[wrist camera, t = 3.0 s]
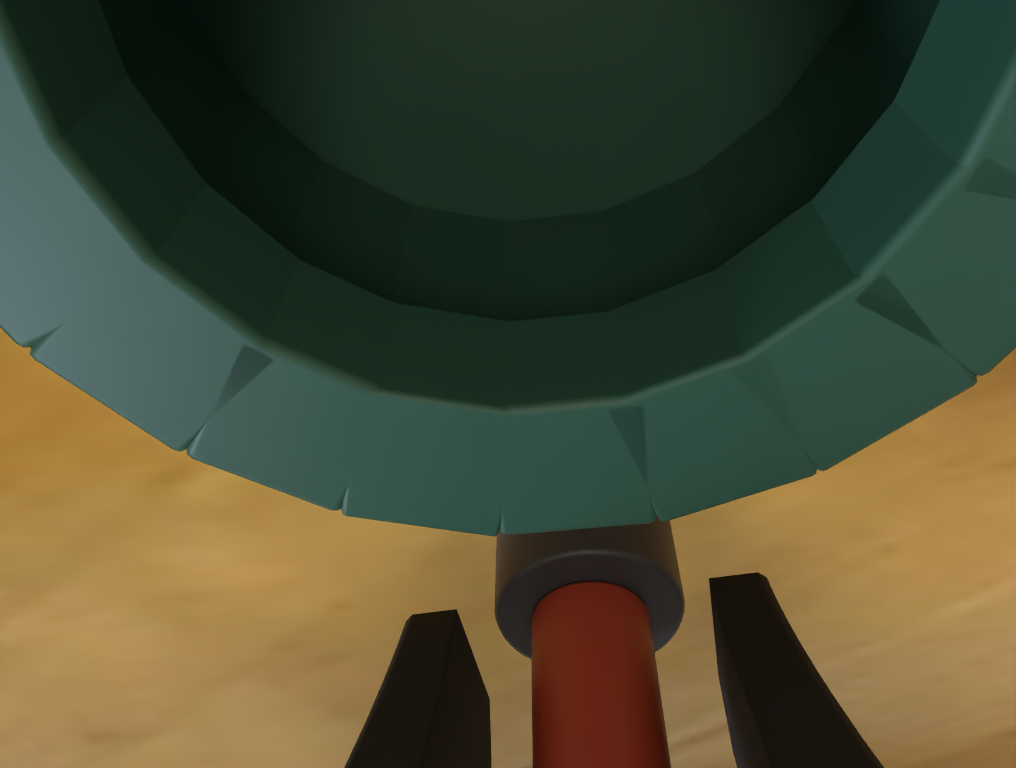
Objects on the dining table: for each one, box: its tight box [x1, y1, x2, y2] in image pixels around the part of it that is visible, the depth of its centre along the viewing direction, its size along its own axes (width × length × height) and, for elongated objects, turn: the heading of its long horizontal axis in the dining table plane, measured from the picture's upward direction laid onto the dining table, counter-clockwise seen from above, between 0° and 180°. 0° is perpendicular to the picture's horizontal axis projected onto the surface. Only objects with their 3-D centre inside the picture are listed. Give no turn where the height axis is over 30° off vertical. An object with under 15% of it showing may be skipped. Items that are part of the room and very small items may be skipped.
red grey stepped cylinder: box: [495, 517, 685, 768], centre depth 11 cm, size 3×3×8 cm
